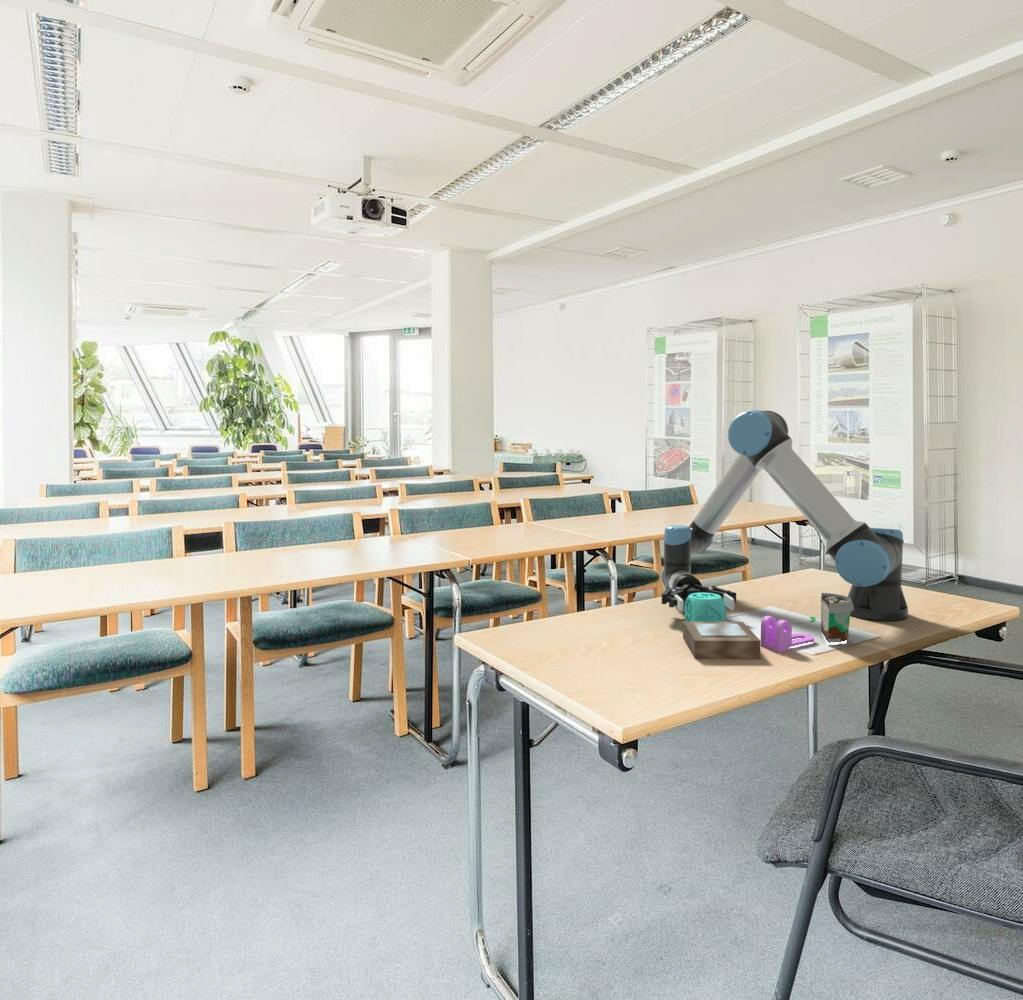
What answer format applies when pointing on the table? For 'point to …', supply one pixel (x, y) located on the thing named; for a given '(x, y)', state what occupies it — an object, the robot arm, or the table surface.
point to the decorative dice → (705, 608)
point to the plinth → (721, 640)
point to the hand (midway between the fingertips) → (707, 605)
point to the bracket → (780, 634)
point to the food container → (835, 616)
